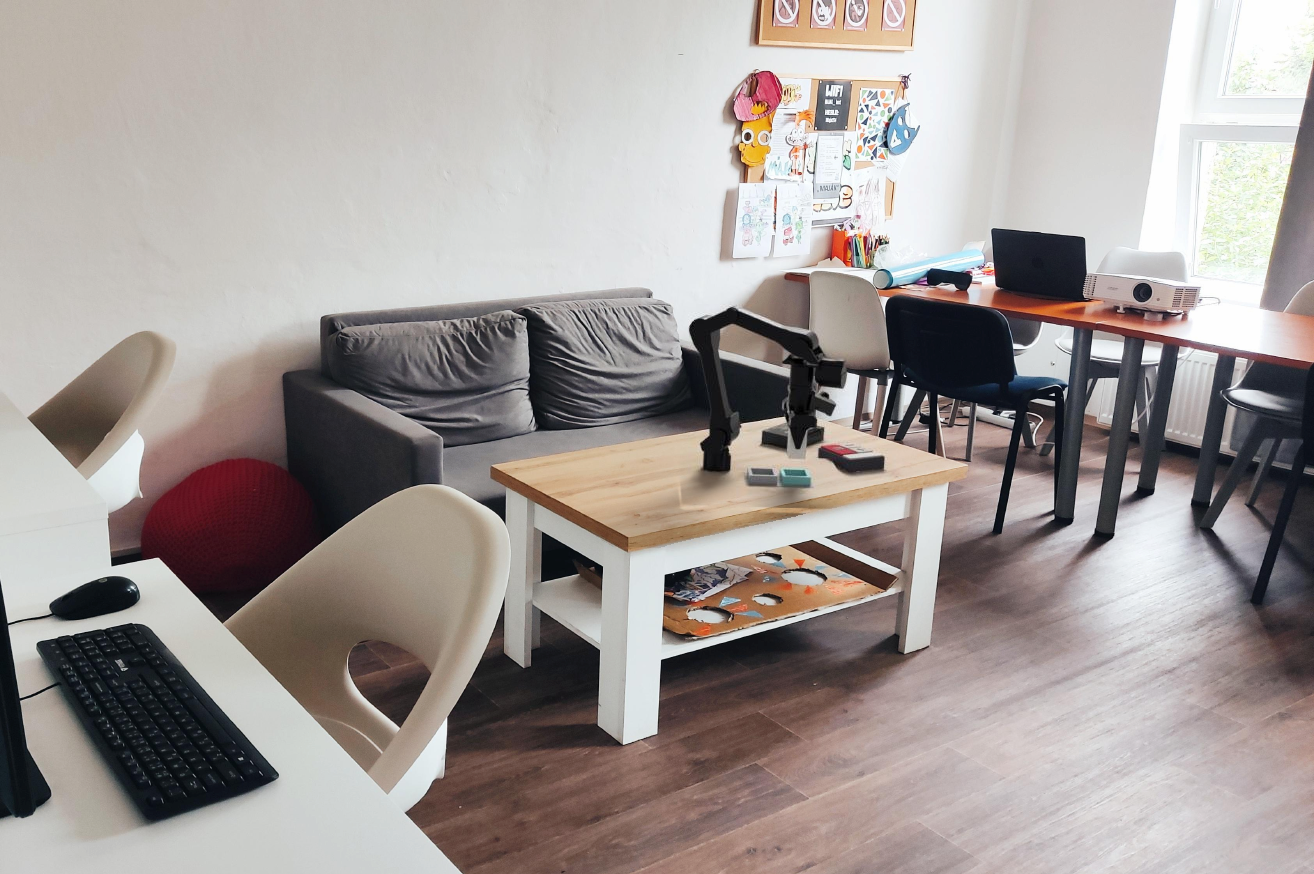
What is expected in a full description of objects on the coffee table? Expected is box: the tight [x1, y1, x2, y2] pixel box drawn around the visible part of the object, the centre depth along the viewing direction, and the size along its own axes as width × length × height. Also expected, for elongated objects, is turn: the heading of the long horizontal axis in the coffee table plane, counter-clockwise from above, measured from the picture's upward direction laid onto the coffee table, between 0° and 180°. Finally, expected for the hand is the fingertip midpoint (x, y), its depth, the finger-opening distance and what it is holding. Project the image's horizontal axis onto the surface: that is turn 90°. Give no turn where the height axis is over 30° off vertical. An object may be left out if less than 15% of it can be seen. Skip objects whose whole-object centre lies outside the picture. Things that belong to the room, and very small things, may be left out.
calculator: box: [817, 442, 886, 474], centre depth 286 cm, size 11×4×15 cm
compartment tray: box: [744, 466, 814, 489], centre depth 266 cm, size 16×10×3 cm, turn 90°
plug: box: [786, 429, 807, 460], centre depth 264 cm, size 4×4×7 cm
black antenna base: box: [760, 411, 825, 450], centre depth 304 cm, size 20×14×17 cm
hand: (796, 446), depth 264 cm, fingers closed on plug, 4 cm apart
